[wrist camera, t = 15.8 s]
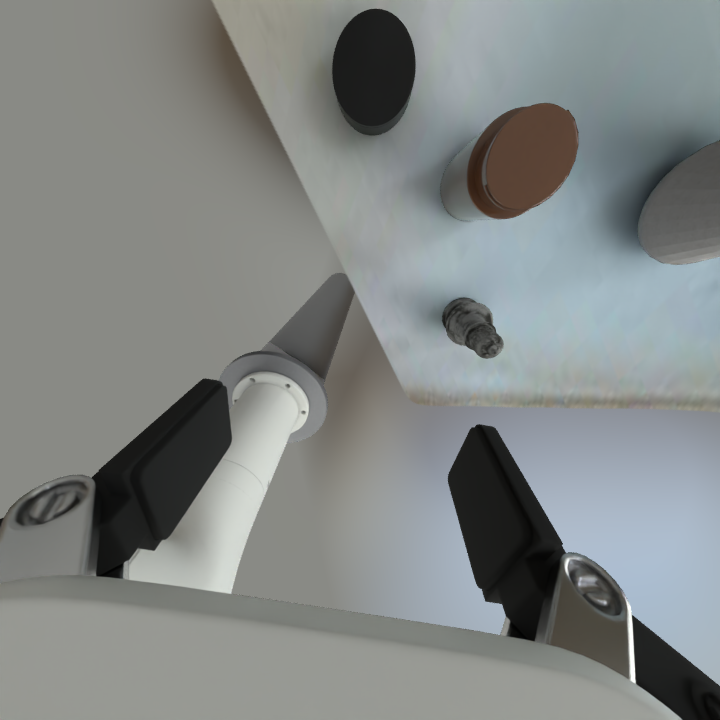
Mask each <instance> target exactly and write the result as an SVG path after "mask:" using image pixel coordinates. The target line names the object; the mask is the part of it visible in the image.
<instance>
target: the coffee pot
mask: <svg viewBox="0 0 720 720" xmlns="http://www.w3.org/2000/svg"><path fill="white" fill-rule="evenodd" d="M638 238H639V242H640V245H641V247H642V248H643V249H644V250H645V252H646V253H647V254H648V255H649V256H650V257H652V258H654V259H655V260H657V261H659V262H661V263H666V264H673V265H681V264H689V263H696V262H700V261H704V260H708V259H712V258H716V257H720V140H719V141H717V142H715V143H712V144H710V145H707V146H705V147H703V148H702V149H700V150H699V151H697V152H696V153H694V154H693V155H691V156H689V157H688V158H686V159H685V160H683V161H682V162H680V163H679V164H678V165H676V166H675V167H674V168H673V169H672V170H671V171H670V172H669V173H668V174H666V175H665V176H664V177H663V178H662V180H661V181H660V182H659V183H658V185H657V186H656V187H655V188H654V190H653V191H652V192H651V194H650V196H649V197H648V199H647V201H646V203H645V205H644V206H643V209H642V212H641V215H640V218H639V221H638Z"/></svg>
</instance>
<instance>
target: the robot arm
mask: <svg viewBox="0 0 720 720" xmlns="http://www.w3.org/2000/svg"><path fill="white" fill-rule="evenodd" d="M232 401H233V406H232V407H231V409H230V410H229V404H228V394H227V387H226V386H223V383H222V382H221V381H217V380H211V379H202V380H201V381H200V382H199V383H198V384H196V385H195V386H194V387H193V388H192V389H191V390H190V391H188V392H187V393H186V394H185V395H184V396H183V397H182V398H180V399H179V400H178V401H177V402H176V403H175V404H174V405H172V406H171V407H170V408H169V409H168V410H167V411H166V412H165V413H163V414H162V415H161V416H160V417H159V418H158V419H156V420H155V421H154V422H153V423H152V424H151V425H150V426H148V428H146V429H145V430H144V431H143V432H142V433H141V434H139V435H138V436H137V437H136V438H135V439H134V440H133V441H131V442H130V443H129V444H128V445H127V446H126V447H125V448H124V449H122V450H121V451H120V452H119V453H118V454H117V455H115V456H114V457H113V458H112V459H111V460H110V461H109V462H108V463H106V465H104V466H103V467H102V468H101V469H100V470H99V472H97V473H96V474H95V475H94V476H93V477H92V478H90V477H89V476H85V475H69V476H65V477H60V478H57V479H54V480H52V481H49V482H46V483H44V484H42V485H40V486H38V487H36V488H35V489H33V490H31V491H30V492H28V493H27V494H25V495H24V496H22V497H21V498H20V499H18V501H16V502H15V503H14V504H13V505H12V506H11V507H10V509H9V510H8V512H7V513H6V515H5V517H4V518H2V519H0V720H720V686H719V685H718V684H716V683H715V682H714V681H713V680H712V679H710V678H709V677H708V676H707V675H705V674H704V673H703V672H702V671H701V670H699V669H698V668H697V667H695V666H694V665H693V664H692V663H691V662H689V661H688V660H687V659H686V658H685V657H683V656H682V655H681V654H680V653H678V652H677V651H676V650H675V649H673V648H672V647H671V646H670V645H668V644H667V643H666V642H665V641H663V640H662V639H661V638H660V637H659V636H657V635H656V634H655V633H654V632H652V631H651V630H650V629H649V628H647V627H646V626H645V625H644V624H642V623H641V622H640V621H639V620H638V619H636V618H635V617H634V616H633V615H632V613H631V608H630V604H629V602H628V600H627V598H626V596H625V594H624V592H623V591H622V589H621V588H620V587H619V585H618V584H617V583H616V581H615V580H614V579H613V578H612V577H611V576H610V575H609V574H608V573H607V572H606V571H605V570H604V569H603V568H602V567H601V566H599V565H598V564H597V563H595V562H594V561H592V560H591V559H589V558H587V557H586V556H583V555H581V554H578V553H572V552H568V553H566V552H565V550H564V549H563V547H562V544H563V543H562V541H561V539H560V538H559V536H558V535H557V533H556V531H555V529H554V527H553V526H552V524H551V522H550V521H549V519H548V517H547V516H546V514H545V512H544V510H543V509H542V507H541V505H540V503H539V502H538V500H537V498H536V497H535V495H534V493H533V491H532V490H531V488H530V486H529V485H528V483H527V481H526V479H525V478H524V476H523V474H522V473H521V471H520V469H519V467H518V466H517V464H516V463H515V461H514V459H513V457H512V455H511V454H510V452H509V450H508V449H507V447H506V445H505V444H504V442H503V440H502V438H501V437H500V435H499V433H498V431H497V430H496V429H495V428H494V427H491V426H485V425H480V424H479V425H476V426H475V428H471V429H470V431H469V433H468V435H467V437H466V439H465V441H464V443H463V445H462V447H461V450H460V451H459V453H458V456H457V458H456V460H455V462H454V464H453V466H452V468H451V470H450V472H449V474H448V484H449V487H450V491H451V495H452V498H453V502H454V505H455V509H456V513H457V516H458V520H459V524H460V527H461V531H462V535H463V538H464V542H465V545H466V549H467V553H468V556H469V560H470V564H471V567H472V571H473V574H474V578H475V581H476V584H477V586H478V587H479V588H480V589H482V591H483V595H484V598H485V601H486V602H493V603H499V604H502V605H503V608H504V611H505V614H506V618H505V622H504V624H503V628H502V632H501V634H500V635H496V634H491V633H485V632H480V631H474V630H467V629H461V628H455V627H448V626H442V625H436V624H429V623H422V622H415V621H410V620H403V619H397V618H390V617H384V616H378V615H371V614H364V613H358V612H351V611H344V610H337V609H331V608H324V607H318V606H311V605H304V604H297V603H291V602H284V601H277V600H270V599H264V598H257V597H250V596H243V595H236V594H231V591H232V587H233V584H234V580H235V576H236V573H237V569H238V565H239V562H240V559H241V556H242V552H243V549H244V547H245V544H246V541H247V538H248V535H249V533H250V530H251V528H252V525H253V523H254V520H255V518H256V515H257V513H258V510H259V508H260V505H261V503H262V501H263V498H264V496H265V493H266V491H267V489H268V486H269V484H270V482H271V479H272V477H273V474H274V472H275V470H276V467H277V465H278V463H279V460H280V458H281V455H282V453H283V450H284V448H285V446H286V443H287V441H288V439H289V436H290V434H291V433H293V432H295V431H297V430H298V429H300V428H301V427H302V426H303V425H304V423H305V422H306V419H307V417H308V414H309V402H308V399H307V396H306V394H305V393H304V391H303V390H302V388H301V387H300V386H299V385H298V384H297V383H295V382H294V381H293V380H291V379H290V378H288V377H286V376H284V375H281V374H278V373H274V372H268V371H260V372H255V373H252V374H249V375H247V376H245V377H244V378H242V379H241V381H240V382H239V383H238V384H237V385H236V387H235V388H234V391H233V395H232Z"/></svg>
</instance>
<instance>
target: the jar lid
mask: <svg viewBox="0 0 720 720" xmlns="http://www.w3.org/2000/svg"><path fill="white" fill-rule="evenodd" d="M415 65H416V64H415V53H414V47H413V43H412V40H411V37H410V35H409V33H408V31H407V29H406V27H405V26H404V24H403V23H402V22H401V21H400V20H399V19H398V18H397V17H396V16H395V15H393V14H392V13H390V12H388V11H385V10H382V9H369V10H366V11H363V12H361V13H360V14H358V15H357V16H355V17H354V18H353V19H352V20H351V21H350V22H349V23H348V24H347V25H346V27H345V28H344V30H343V31H342V33H341V35H340V37H339V39H338V42H337V45H336V48H335V52H334V56H333V65H332V75H333V84H334V89H335V93H336V96H337V99H338V102H339V106H340V108H341V111H342V113H343V115H344V117H345V119H346V120H347V122H348V123H349V124H350V125H351V126H352V127H353V128H354V129H355V130H357V131H358V132H360V133H362V134H366V135H379V134H382V133H385V132H387V131H388V130H390V129H391V128H392V127H394V126H395V125H396V124H397V123H398V121H399V120H400V119H401V117H402V116H403V114H404V112H405V110H406V108H407V105H408V102H409V99H410V95H411V91H412V87H413V83H414V77H415Z"/></svg>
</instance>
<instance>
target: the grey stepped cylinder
mask: <svg viewBox="0 0 720 720" xmlns="http://www.w3.org/2000/svg"><path fill="white" fill-rule="evenodd" d="M442 322H443V325H444V327H445V328H446V332H447V335H448V337H449V338H450V339H451V340H452V341H453V342H454V343H456V344H459V345H464V346H467V347H468V348H469V349H472V350H474V351H475V352H476V353H477V355H479V356H480V357H482V358H486V359H488V358H493V357H495V356H497V355H498V354H499V353H500V352H501V351H502V349H503V345H504V343H503V340H502V338H501V337H500V336H499V335H498V334H497V333H496V329H495V327H494V326H493V316H492V313H491V311H490V310H489V309H488V308H487V307H486V306H485V305H483V304H480V303H476V302H475V301H474V300H472V299H469V298H460V299H457V300H454V301H453V302H451V303H450V304H449V305H448V306H447V307H446V308H445V310H444V312H443V316H442Z"/></svg>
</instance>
